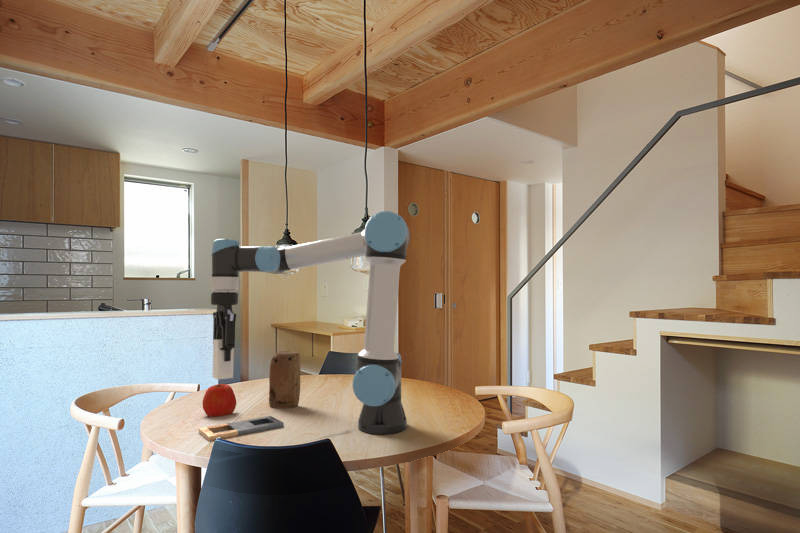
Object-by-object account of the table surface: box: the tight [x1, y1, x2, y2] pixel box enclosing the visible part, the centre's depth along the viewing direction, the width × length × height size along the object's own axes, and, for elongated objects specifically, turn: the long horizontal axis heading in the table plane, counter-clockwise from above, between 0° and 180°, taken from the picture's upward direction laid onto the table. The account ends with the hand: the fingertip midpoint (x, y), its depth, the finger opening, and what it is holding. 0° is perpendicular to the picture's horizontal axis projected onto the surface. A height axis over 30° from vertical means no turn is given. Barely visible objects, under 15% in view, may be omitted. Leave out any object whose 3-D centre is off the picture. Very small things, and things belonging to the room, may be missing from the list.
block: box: [268, 350, 301, 409], centre depth 170 cm, size 11×8×20 cm
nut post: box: [212, 339, 235, 380], centre depth 137 cm, size 4×4×11 cm
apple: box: [202, 383, 237, 418], centre depth 159 cm, size 11×11×11 cm
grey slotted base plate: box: [198, 415, 285, 442], centre depth 140 cm, size 10×22×2 cm, turn 129°
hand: (222, 371), depth 137 cm, fingers closed on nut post, 4 cm apart
